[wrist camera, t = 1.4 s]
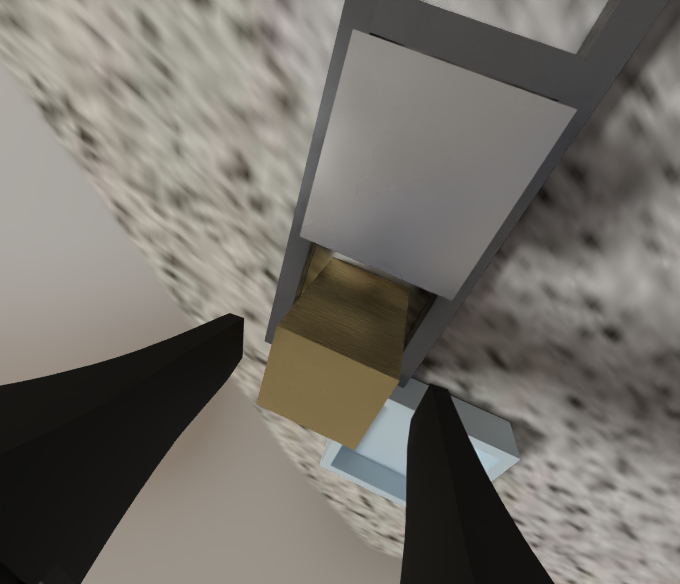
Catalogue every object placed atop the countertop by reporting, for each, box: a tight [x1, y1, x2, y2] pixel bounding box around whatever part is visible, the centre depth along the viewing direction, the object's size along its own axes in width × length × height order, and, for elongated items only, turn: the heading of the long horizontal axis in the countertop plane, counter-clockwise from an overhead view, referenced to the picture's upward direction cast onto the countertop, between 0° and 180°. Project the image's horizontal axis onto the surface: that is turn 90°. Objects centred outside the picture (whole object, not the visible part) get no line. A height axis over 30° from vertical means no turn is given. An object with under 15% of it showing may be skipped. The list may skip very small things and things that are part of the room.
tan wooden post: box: [257, 258, 410, 450], centre depth 12 cm, size 4×4×6 cm
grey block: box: [300, 29, 577, 301], centre depth 8 cm, size 4×4×6 cm
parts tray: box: [319, 378, 520, 508], centre depth 17 cm, size 8×8×2 cm
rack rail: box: [265, 0, 669, 388], centre depth 10 cm, size 8×22×1 cm, turn 161°
